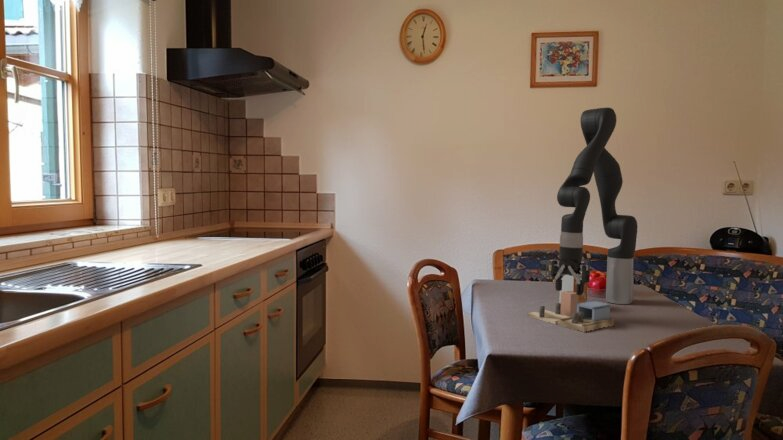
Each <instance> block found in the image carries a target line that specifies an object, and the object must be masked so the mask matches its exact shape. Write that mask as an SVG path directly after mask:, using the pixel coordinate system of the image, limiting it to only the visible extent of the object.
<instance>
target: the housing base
mask: <svg viewBox="0 0 783 440" xmlns="http://www.w3.org/2000/svg"><path fill="white" fill-rule="evenodd" d="M613 325H614V326H615V320H613V319H612V318H609V319H605V320H600V321H596V322H592V316H589V317H585V318H584V312H577V313H572V316H571V317H566V318H561V320H558V324H557V326H561V327H564V328H568V329H572V330H574V329H575V330H574V331H578V330H579V332H581V331H582V333H587V332H591V331H590V330H592V331H595V330H594V329H596V330H599V328H601V329H604V328H603V327H605V328H609V327H613ZM608 326H609V327H608ZM586 331H587V332H586Z"/></svg>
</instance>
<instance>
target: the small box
mask: <svg viewBox="0 0 783 440" xmlns="http://www.w3.org/2000/svg"><path fill="white" fill-rule="evenodd" d="M581 273H582V271H581ZM577 275H578V274H577ZM561 280H562V290H561V291H559V297H558V298H559V300H558V303H560V304H561V292H566V291H571V292H576V293H577V284H578V283H577V281H576V279H575V278H574V277H573V276H570V275H564V276H563V278H562V279H561ZM588 286H589V283H585V284H584V292H583V293H582V295H578V303H582V302H587V301H588V290H589V288H588Z"/></svg>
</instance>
